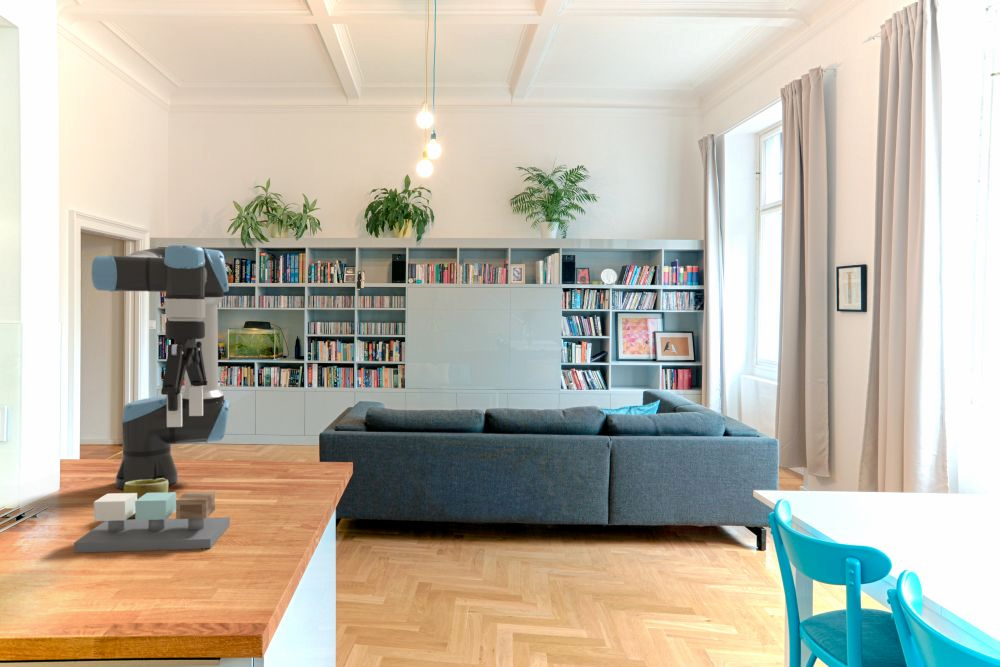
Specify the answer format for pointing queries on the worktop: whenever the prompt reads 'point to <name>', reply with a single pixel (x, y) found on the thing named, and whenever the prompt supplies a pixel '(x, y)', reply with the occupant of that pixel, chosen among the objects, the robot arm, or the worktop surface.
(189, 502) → the walnut key
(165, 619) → the worktop surface
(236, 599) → the worktop surface
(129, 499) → the ivory key
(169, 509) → the teal key
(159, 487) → the mug
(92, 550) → the console
